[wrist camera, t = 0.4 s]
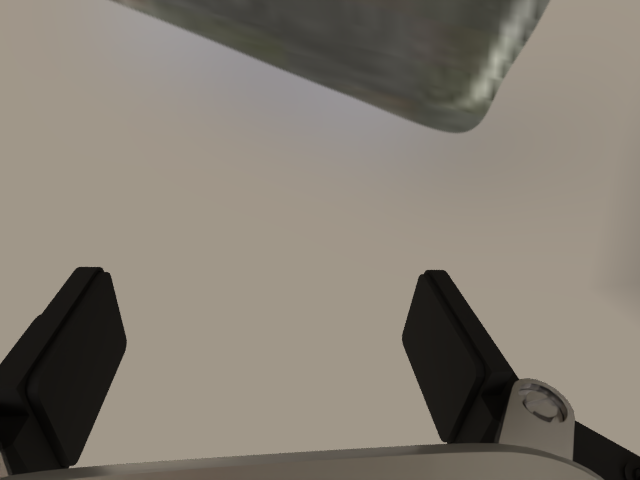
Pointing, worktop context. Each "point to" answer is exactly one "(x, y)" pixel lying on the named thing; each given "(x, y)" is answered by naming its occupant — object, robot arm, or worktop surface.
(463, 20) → the worktop surface
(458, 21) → the worktop surface
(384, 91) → the worktop surface
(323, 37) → the worktop surface
